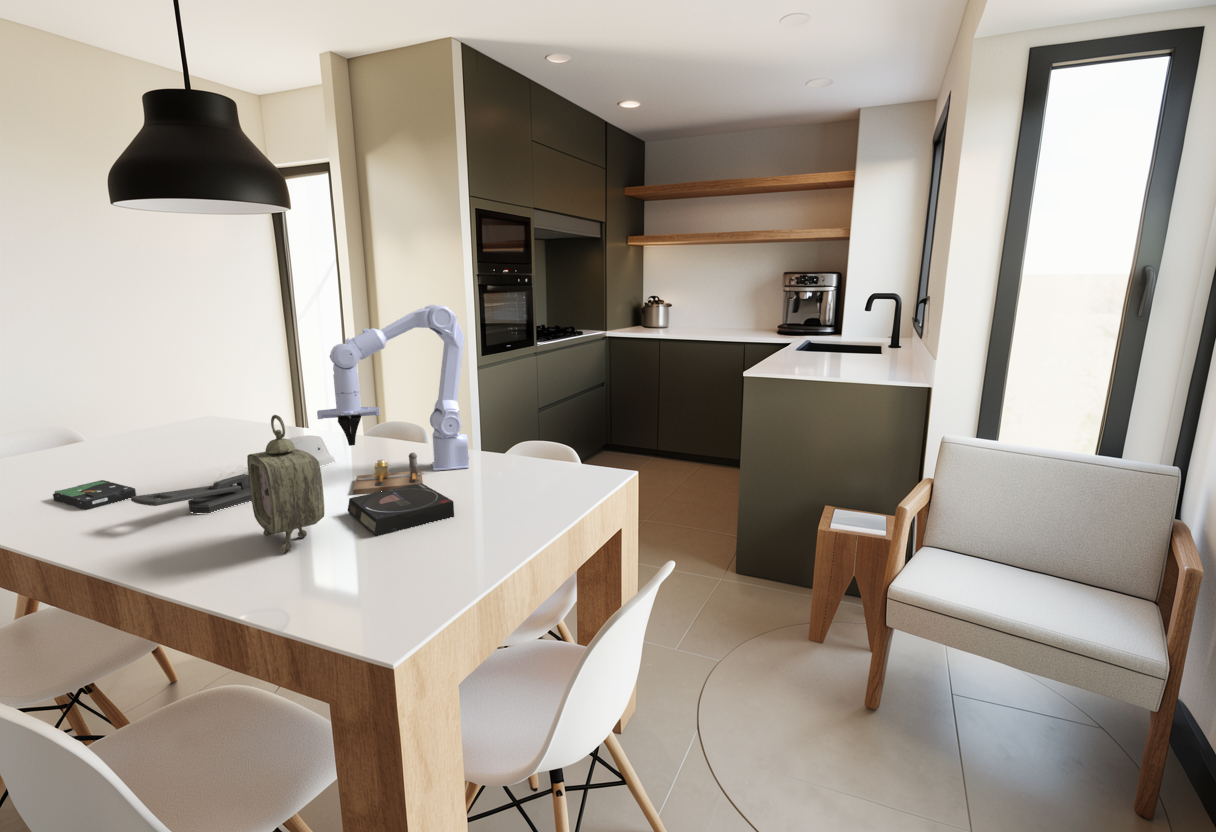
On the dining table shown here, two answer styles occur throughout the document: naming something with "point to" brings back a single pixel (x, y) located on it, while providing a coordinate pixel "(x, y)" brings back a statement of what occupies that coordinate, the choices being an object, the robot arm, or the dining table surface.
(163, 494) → the dark grey long piece
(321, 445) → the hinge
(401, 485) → the plate
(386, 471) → the gold perfume bottle
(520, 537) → the dining table surface
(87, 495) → the disk drive
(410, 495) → the portable cd player
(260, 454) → the tabletop clock
